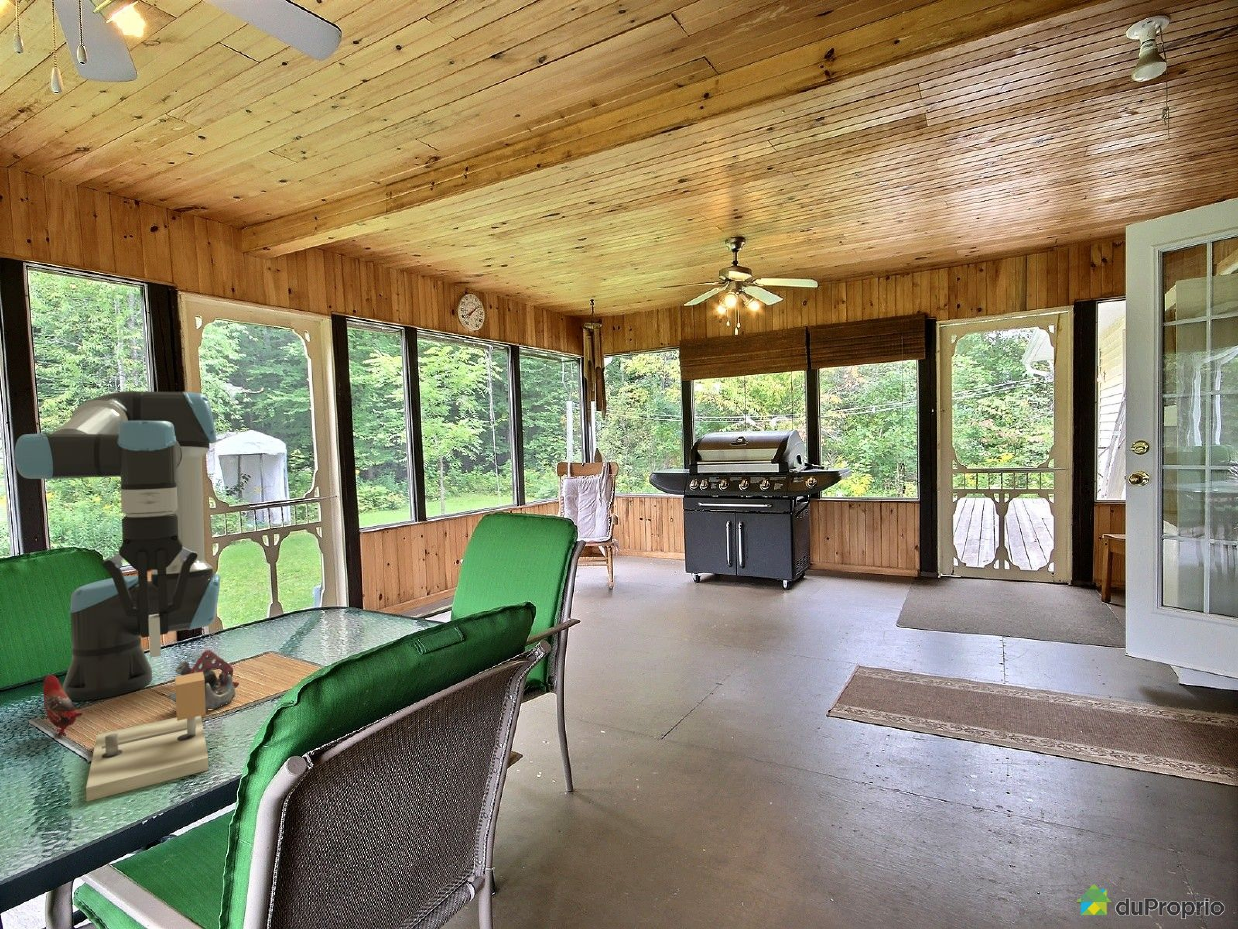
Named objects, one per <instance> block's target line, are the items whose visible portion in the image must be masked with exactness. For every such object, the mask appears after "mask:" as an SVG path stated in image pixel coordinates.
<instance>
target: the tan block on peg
mask: <svg viewBox="0 0 1238 929" xmlns="http://www.w3.org/2000/svg"><path fill="white" fill-rule="evenodd" d="M174 680H175V683H174V684H175V686H174V687H175V693H176V703H175V707H176V708H175V711H176V717H177V721H179V720H184V719H187V734H188V735H191V734H194V733H196V724H195V717H197V716H201V717H202V716H206V714H207V711H206V709H205V680H204V675H203V672H198V673H193V674H187V675H178V676H175V677H174Z"/></svg>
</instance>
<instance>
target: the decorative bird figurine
mask: <svg viewBox="0 0 1238 929" xmlns="http://www.w3.org/2000/svg"><path fill="white" fill-rule="evenodd" d="M42 693H43V702H44V703H43V704H44V708H45V712H46V715H47V718H48V719H49V721H50V723H52V725H53V726H54V727H56V728H55V730H56V729H57V730H56V733H57V732H59V733H60V734H59V735H61V734H64V735H66V736H67V733H66V732H65V730H66V729H67V728H68V727H69V726H72V725H73V724H74V723H75V721H76V719H77V718H78V717H81V716H83V712H82V711H81V712H80V711H76V708H75V705H74V703H73V702H72V701H73V700H70V698H69V697H68V696H67V694H66V693H65V692H64V690H63V685H62V684H61V683H60V681H59V679H58V678H57V677H56V676H55V675H52V674H50V675H47V676H46V677H45V678H44V680H43V686H42ZM58 728H59V729H58Z"/></svg>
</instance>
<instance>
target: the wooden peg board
mask: <svg viewBox="0 0 1238 929" xmlns="http://www.w3.org/2000/svg"><path fill="white" fill-rule="evenodd" d="M195 724H196V733H194V734H191V735H188V734H187V719H184V720H179V721H177V716H176V717H172V718H167V719H162V720H159V721H157V720H156V721H153V722H148V723H144V724H139V725H135V726H130V727H125V728H119V729H117V730H116V729H115V730H111V731H107V732H106V731H105V732H102V733H98V734H96V738H95V739H96V740H95V744H94V748H93V754H92V758H91V761H90V762H91V763H90V767H89V773H88V776H87V777H88V778H87V781H86V782H87V783H86V787H85V791H86V792H85V793H86V794H85V796H86V802H91V801H94V800H97V799H101V798H106V797H109V796H113V795H117V794H121V793H125V792H129V791H133V790H137V789H140V788H143V787H148V786H151V785H156V784H160V783H164V782H167V781H171V780H175V779H178V778H179V779H180V778H182V777H186V776H190V775H194V774H198V773H203V772H206V771H209V755H208V754H209V753H208V748H207V744H206V738H205V732H204V725H203V719H202V716H197V717H195Z"/></svg>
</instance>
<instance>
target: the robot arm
mask: <svg viewBox="0 0 1238 929" xmlns="http://www.w3.org/2000/svg"><path fill="white" fill-rule="evenodd" d="M213 416H214V415H213V412H212V408H211V402H210V400H209V398H208V396H207V395H205V394H204V393H200V392H198V393H197V392H188V391H142V390H141V391H138V390H137V391H136V390H125V391H117V392H111V393H108V394H107V393H106V394H104V395H99V396H98V397H94V398H93V397H92V398H91V399H88V400H87V401H85V402H83V403H81V404H80V405H78V406H77V407H76V408H75V409H74V410H73V412H72V413H71V416H70V418H69V420H68V421H66V422H65V423H63V424H62V425H61V426H59V427H58V428H56V430H54V431H53V432H52V433H44V432H38V433H30V434H22V435H20V436H19V437H18V438H17V441H16V443H15V447H14V448H15V449H14V459H15V460H14V461H15V466H16V470H17V472H18V473H19V475H20V476H21V477H23V478H24V479H30V480H32V479H35V480H36V479H37V480H39V479H40V480H41V479H42V480H46V481H49V480H52V479H53V480H55V479H56V480H57V479H79V478H80V479H83V478H86V479H87V478H115V477H118V478H120V506H121V507H120V510H121V513H123V514H124V515H125V516H123V517H122V518H121V534H122V536H121V537H122V544H121V545H120V547H119V550H118V553H116V554H114V555H113V556H111V557H110V558H105V559H104V561H103V562H102V566H103V568H104V569H105V570H106V571H107V572H108V573H109V574H110V575H111V578H107V579H106V578H105V579H103V580H98V581H94V582H90V583H87V584H85V585H82V586H80V587H77V588H76V589H75V590H73V592H72V593H71V596H70V609H69V610H68V611H69V614H70V622H71V623H70V629H71V647H72V648H71V649H72V651H71V652H72V657H71V658H72V659H71V662H70V664H69V667H68V669H67V673H66V675H65V679H64V681H63V684H62V688H63V690H64V692H65V693H66V694H67V696H68V697H69V698H70V700H71V701H76V702H77V701H79V702H80V701H81V702H82V701H91V700H101V699H107V698H112V697H116V696H120V695H124V694H126V693H127V694H128V693H131V692H134V691H137V690H138V689H141V688H143V687H145V686H147V685H148V684H150V683H151V682H152V681H153V670H152V669H153V668H152V667H151V665H150V662H149V660H148V658H147V656H146V654H145V652H144V649H143V648H142V638H148V642H149V644H148V645H149V646H148V647H149V659H152V658H157V657H162V648H161V647H162V646H161V636H162V635H163V636H164V635H168V634H169V633H170V632H180V631H184V630H185V631H186V630H188V631H191V630H194V629H199V628H206V627H209V626H210V625H212V624H213V623H214V621H215V619H216V615H217V611H218V610H217V609H218V602H219V596H220V594H219V593H220V585H221V575H220V574H216V573H213V572H214V570H213V569H214V568H213V566H212V565H210V564H209V563H208V562H207V561H206V555H205V554H206V552H205V526H204V525H205V523H204V522H205V521H204V519H205V518H204V517H205V516H204V489H203V487H204V482H203V479H204V478H203V457H204V456H205V455H207V453H209V452H210V444H214V443H216V442H217V435H216V433H217V432H216V428H215V423H214V422H215V421H214V417H213ZM122 560H125V561H126V562H127V564H128V565H129V566H131V567H132V568H133V570H135V571H137V574H136V575H133V574H132V575H124V574H123V571H122V570H121V568H122V566H123V561H122ZM151 570H152V571H151ZM148 571H151V572H150V580H148V577H149V576H148Z"/></svg>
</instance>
